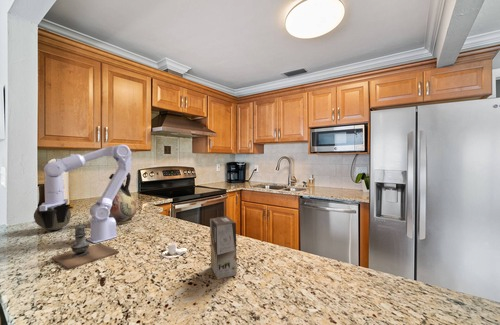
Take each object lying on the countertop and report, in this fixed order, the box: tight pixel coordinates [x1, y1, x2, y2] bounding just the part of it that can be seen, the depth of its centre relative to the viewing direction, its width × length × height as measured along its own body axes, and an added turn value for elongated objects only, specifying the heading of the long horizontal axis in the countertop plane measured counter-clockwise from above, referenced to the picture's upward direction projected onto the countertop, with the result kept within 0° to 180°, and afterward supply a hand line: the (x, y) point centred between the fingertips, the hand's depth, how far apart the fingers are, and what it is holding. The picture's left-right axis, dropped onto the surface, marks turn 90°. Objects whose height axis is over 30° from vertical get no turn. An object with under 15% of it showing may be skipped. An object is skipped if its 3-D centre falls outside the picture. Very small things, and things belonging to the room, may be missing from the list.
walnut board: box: [51, 242, 120, 271], centre depth 86 cm, size 16×16×1 cm
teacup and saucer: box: [161, 241, 188, 259], centre depth 87 cm, size 9×8×4 cm
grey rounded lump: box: [33, 204, 72, 231], centre depth 118 cm, size 14×14×15 cm
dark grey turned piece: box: [70, 222, 91, 257], centre depth 85 cm, size 6×6×12 cm
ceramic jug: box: [108, 172, 137, 225], centre depth 131 cm, size 17×15×30 cm
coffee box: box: [209, 216, 238, 280], centre depth 73 cm, size 9×6×16 cm
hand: (55, 225), depth 93 cm, fingers open, 7 cm apart
